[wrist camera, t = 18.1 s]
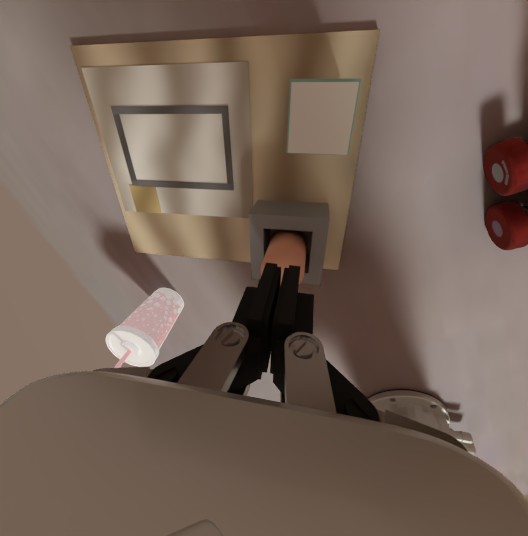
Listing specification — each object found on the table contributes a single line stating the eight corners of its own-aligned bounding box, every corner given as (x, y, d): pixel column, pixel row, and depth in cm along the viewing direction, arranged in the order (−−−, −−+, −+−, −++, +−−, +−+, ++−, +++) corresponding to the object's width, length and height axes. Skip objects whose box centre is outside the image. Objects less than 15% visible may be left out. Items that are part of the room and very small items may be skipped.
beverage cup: (149, 276, 35) (65, 361, 24) (191, 292, 35) (128, 384, 24) (147, 307, 39) (73, 395, 27) (186, 321, 39) (128, 414, 27)
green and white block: (345, 88, 20) (364, 76, 11) (338, 137, 22) (350, 159, 13) (301, 88, 21) (287, 76, 12) (297, 136, 22) (283, 156, 14)
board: (378, 31, 18) (380, 28, 18) (337, 267, 29) (338, 270, 29) (75, 47, 22) (68, 45, 22) (138, 250, 33) (134, 253, 32)
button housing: (328, 203, 25) (329, 218, 22) (320, 264, 29) (320, 285, 25) (257, 199, 26) (248, 213, 23) (259, 259, 30) (251, 278, 26)
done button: (308, 229, 24) (306, 255, 20) (305, 262, 26) (302, 292, 22) (270, 226, 25) (260, 251, 20) (270, 259, 26) (260, 287, 22)
